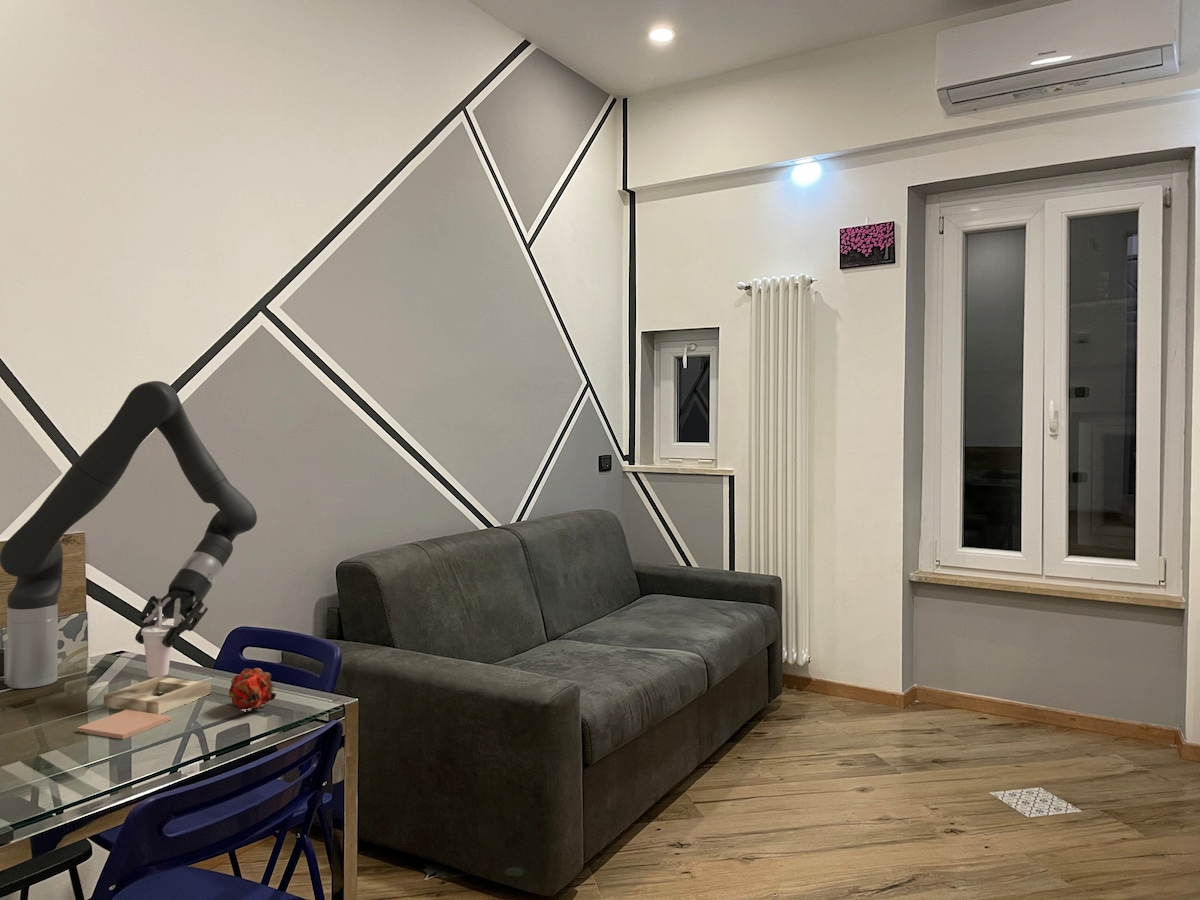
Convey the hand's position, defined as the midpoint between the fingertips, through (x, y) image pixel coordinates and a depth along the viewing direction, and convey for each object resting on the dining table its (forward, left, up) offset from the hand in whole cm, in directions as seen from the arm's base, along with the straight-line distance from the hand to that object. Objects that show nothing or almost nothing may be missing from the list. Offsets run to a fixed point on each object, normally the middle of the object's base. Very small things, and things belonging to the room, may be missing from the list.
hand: (152, 643), depth 176 cm
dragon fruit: (+21, +4, -13) cm, 25 cm away
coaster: (+6, -12, -12) cm, 19 cm away
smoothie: (0, +2, -7) cm, 7 cm away
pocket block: (0, +2, -12) cm, 12 cm away
